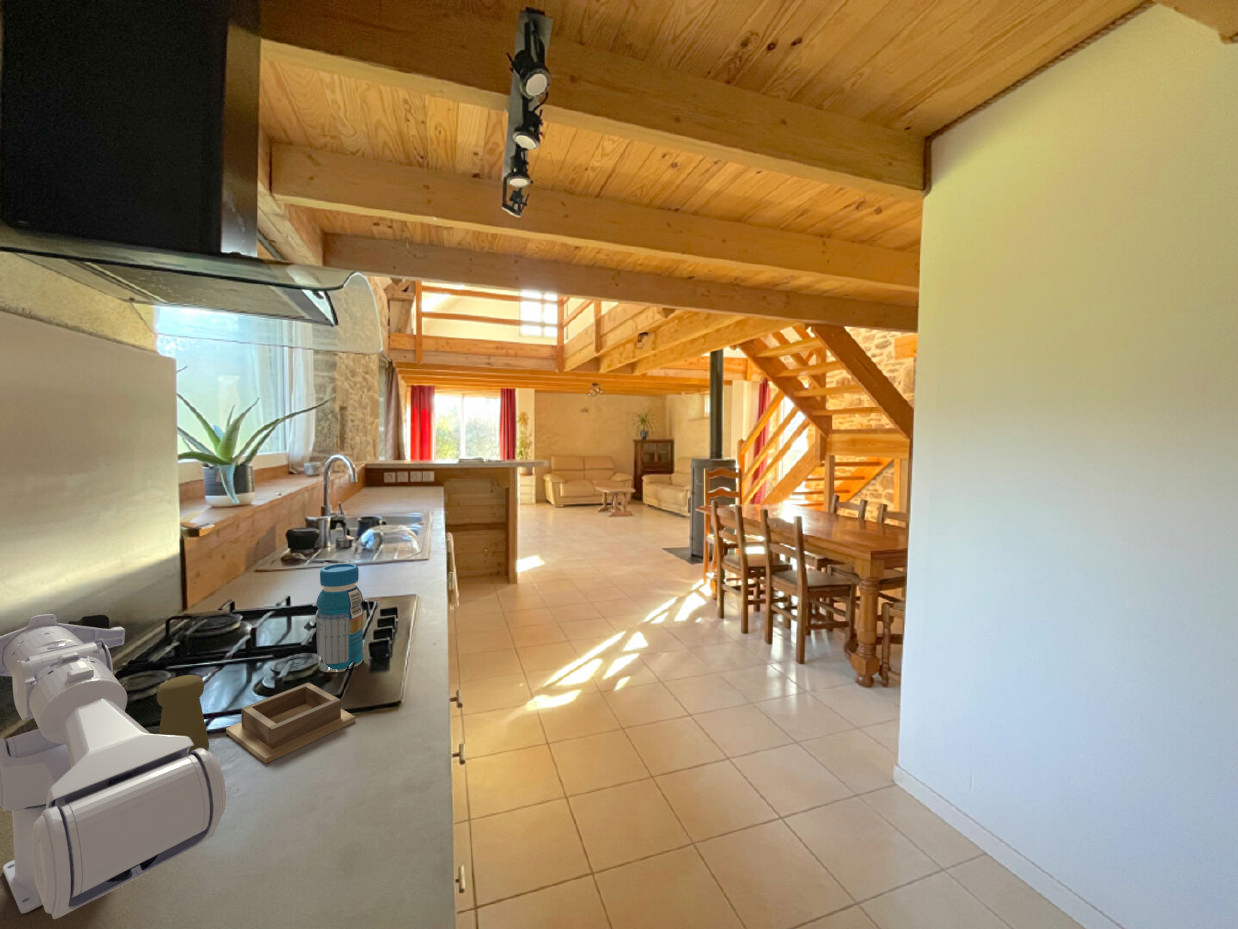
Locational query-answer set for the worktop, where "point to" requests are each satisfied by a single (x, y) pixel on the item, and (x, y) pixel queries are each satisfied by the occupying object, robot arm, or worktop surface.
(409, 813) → the worktop surface
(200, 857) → the worktop surface
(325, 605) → the beverage bottle
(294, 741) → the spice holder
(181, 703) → the cork
